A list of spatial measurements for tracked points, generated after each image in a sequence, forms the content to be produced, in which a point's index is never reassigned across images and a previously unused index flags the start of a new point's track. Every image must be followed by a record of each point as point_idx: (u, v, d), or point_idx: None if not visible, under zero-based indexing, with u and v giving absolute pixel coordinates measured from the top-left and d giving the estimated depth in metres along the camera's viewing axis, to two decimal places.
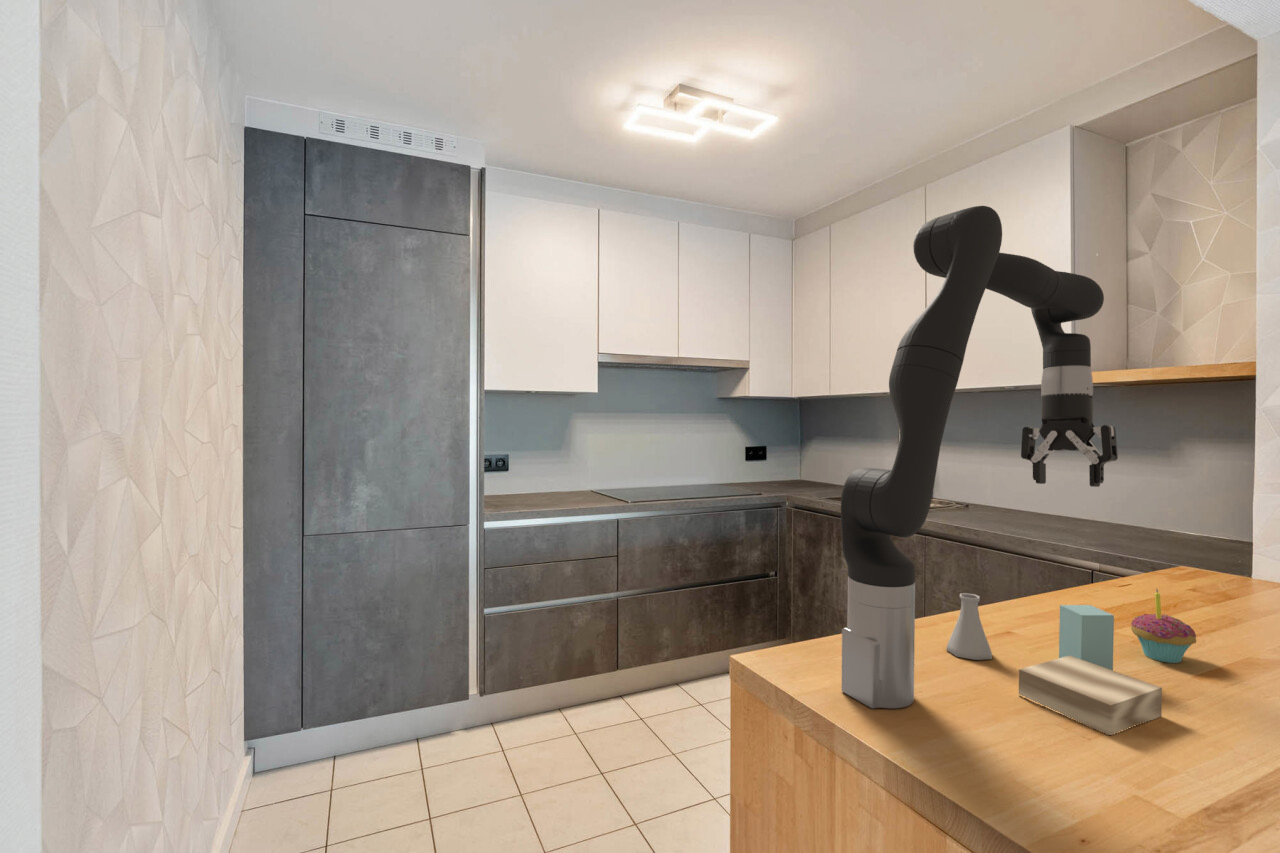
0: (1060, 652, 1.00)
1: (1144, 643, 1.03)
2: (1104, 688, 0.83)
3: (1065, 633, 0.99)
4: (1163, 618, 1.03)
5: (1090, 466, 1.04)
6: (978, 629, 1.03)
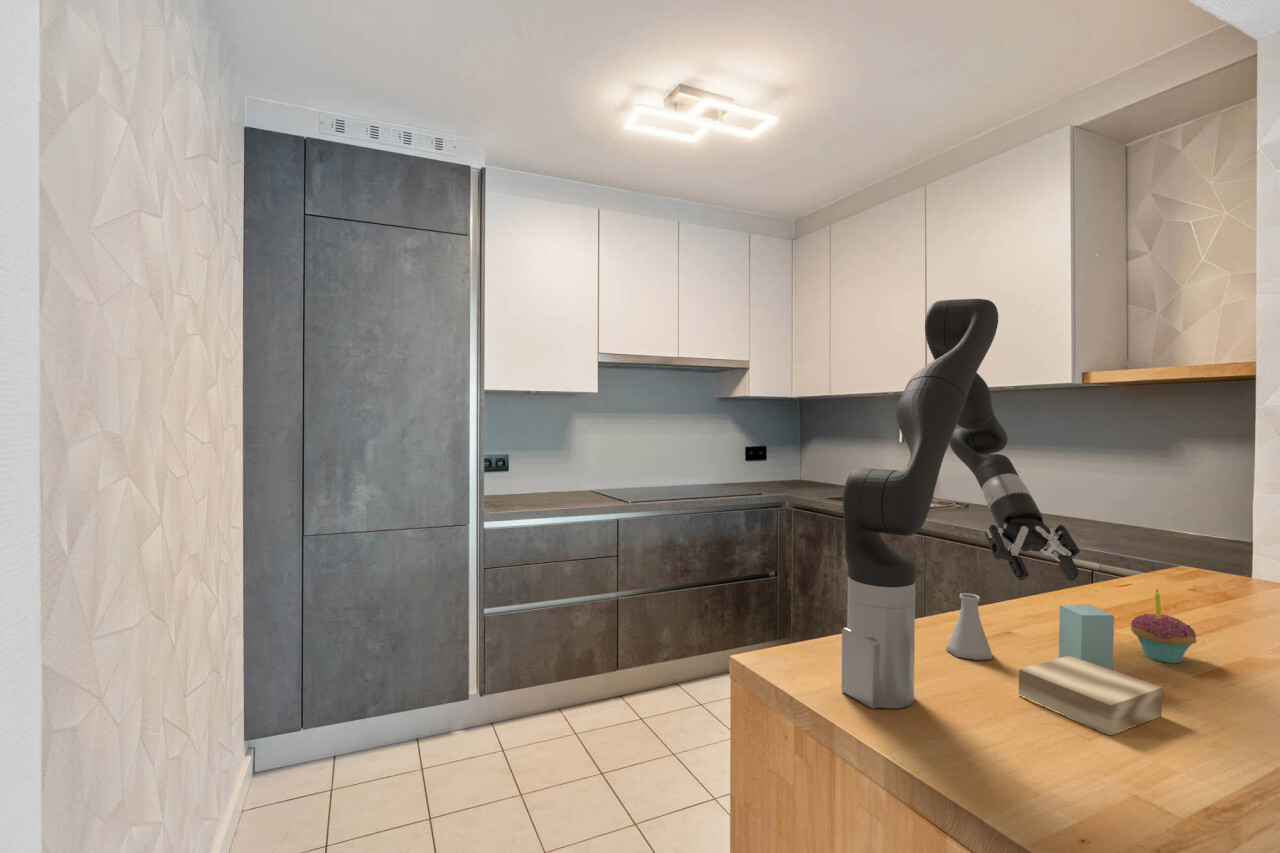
0: (1060, 652, 1.00)
1: (1144, 643, 1.03)
2: (1104, 688, 0.83)
3: (1065, 633, 0.99)
4: (1163, 618, 1.03)
5: (1066, 558, 1.08)
6: (978, 629, 1.03)
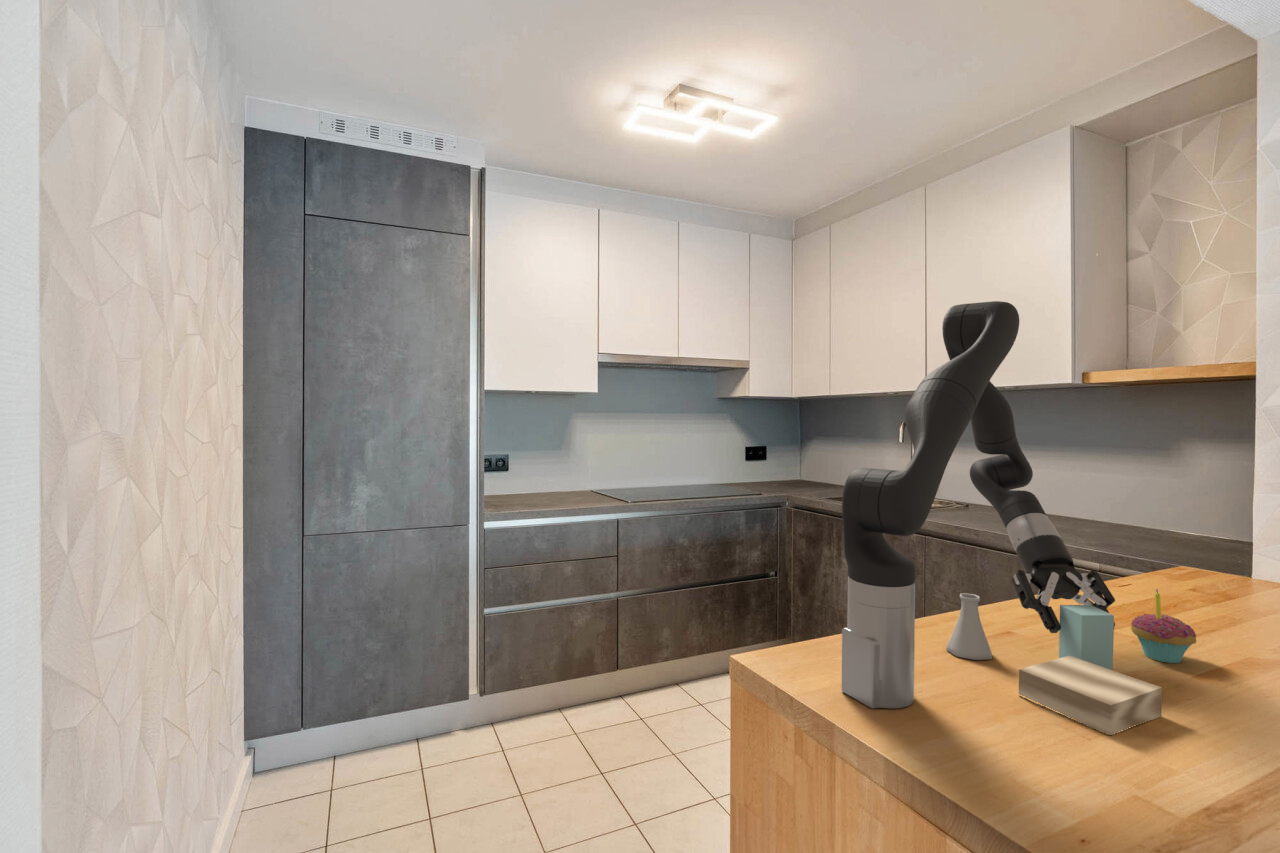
0: (1060, 652, 1.00)
1: (1144, 643, 1.03)
2: (1104, 688, 0.83)
3: (1065, 633, 0.99)
4: (1163, 618, 1.03)
5: (1101, 608, 1.00)
6: (978, 629, 1.03)
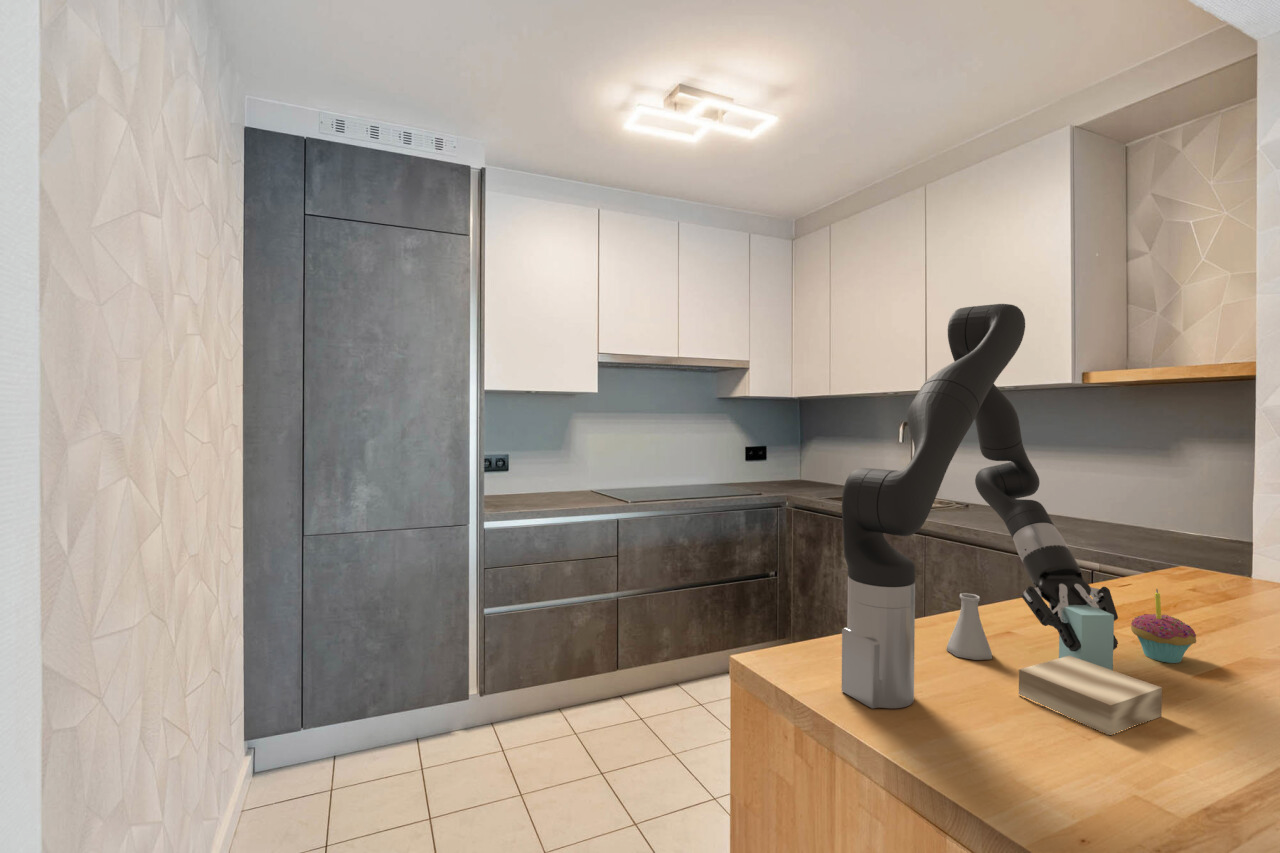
0: (1060, 652, 1.00)
1: (1144, 643, 1.03)
2: (1104, 688, 0.83)
3: None
4: (1163, 618, 1.03)
5: None
6: (978, 629, 1.03)
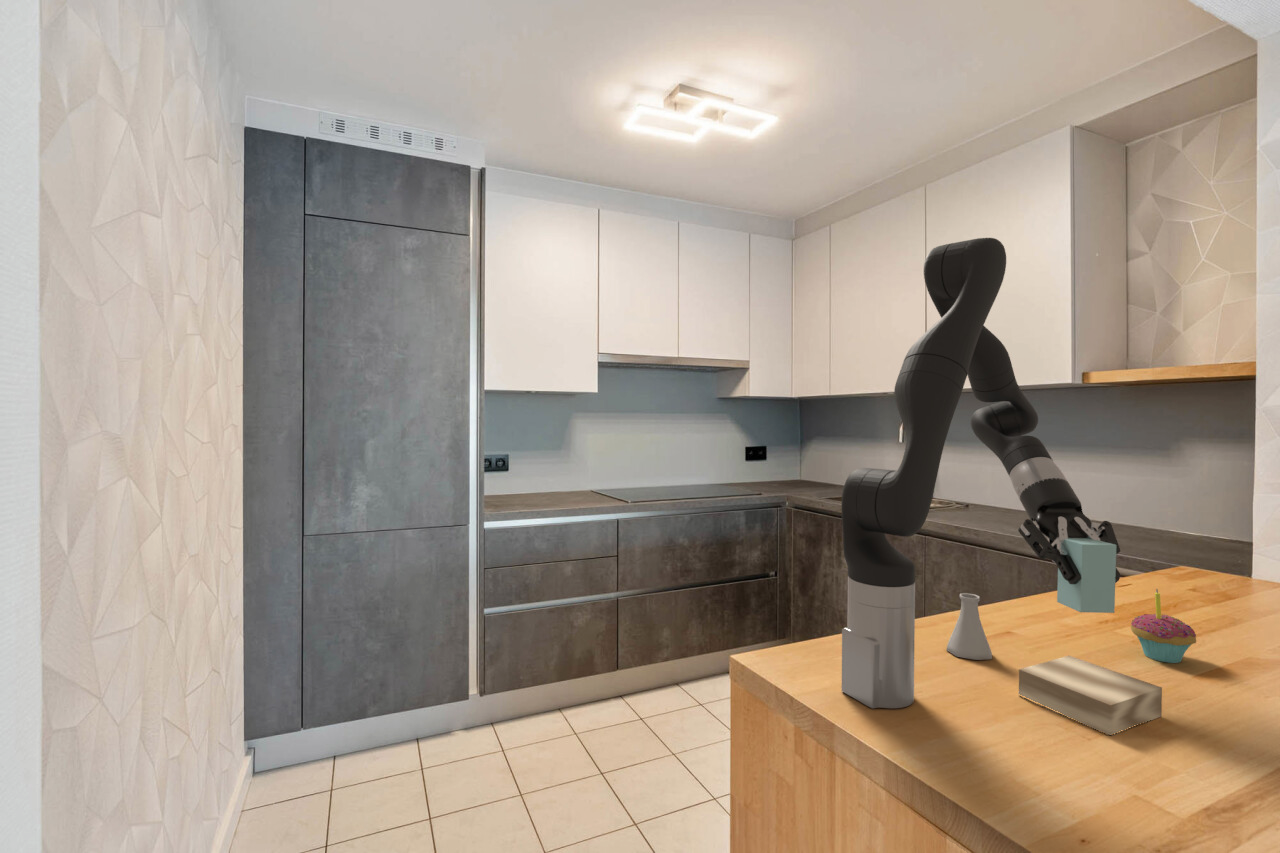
0: (1058, 587, 0.94)
1: (1144, 643, 1.03)
2: (1104, 688, 0.83)
3: None
4: (1163, 618, 1.03)
5: None
6: (978, 629, 1.03)
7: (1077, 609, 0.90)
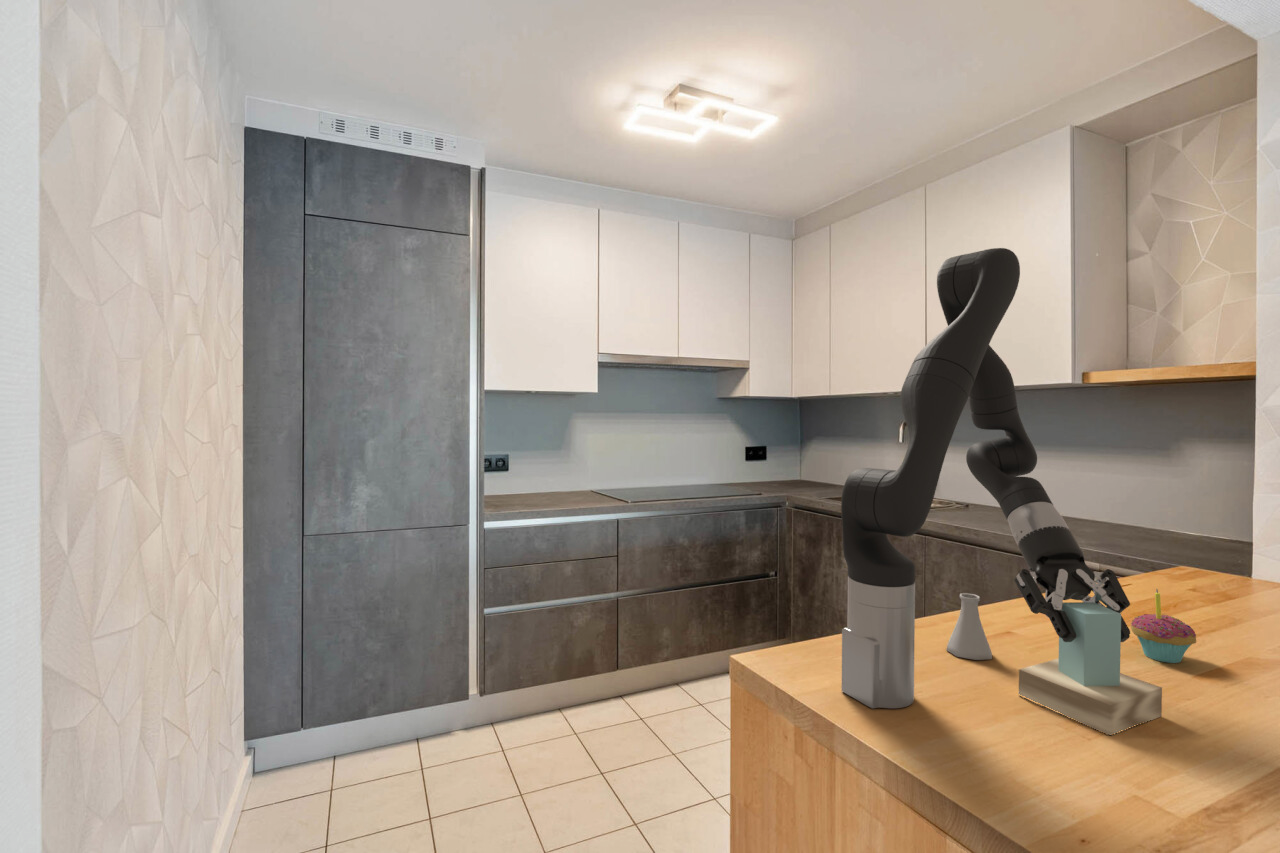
0: (1060, 656, 0.88)
1: (1144, 643, 1.03)
2: (1104, 688, 0.83)
3: None
4: (1163, 618, 1.03)
5: None
6: (978, 629, 1.03)
7: (1080, 682, 0.85)
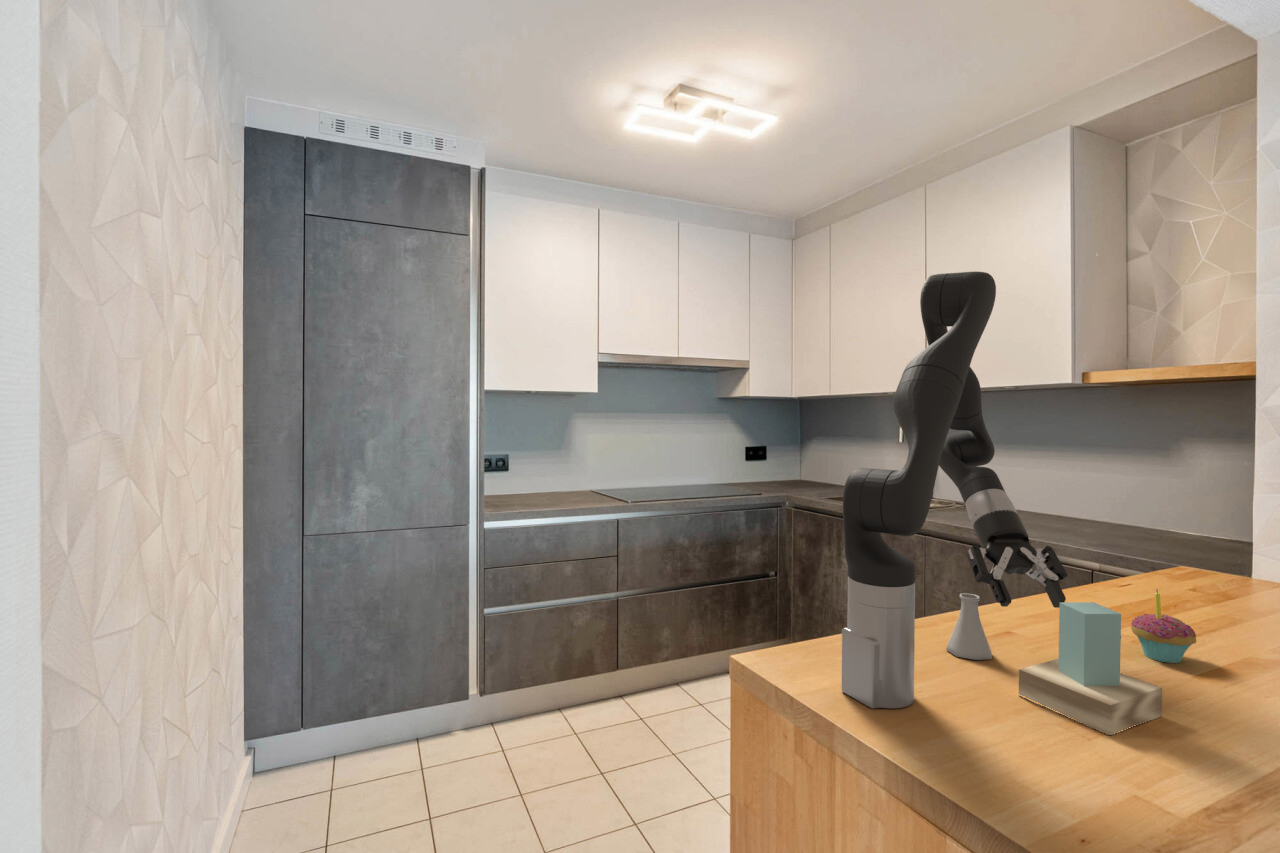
0: (1060, 656, 0.88)
1: (1144, 643, 1.03)
2: (1104, 688, 0.83)
3: (1065, 635, 0.87)
4: (1163, 618, 1.03)
5: (1052, 583, 1.00)
6: (978, 629, 1.03)
7: (1080, 682, 0.85)
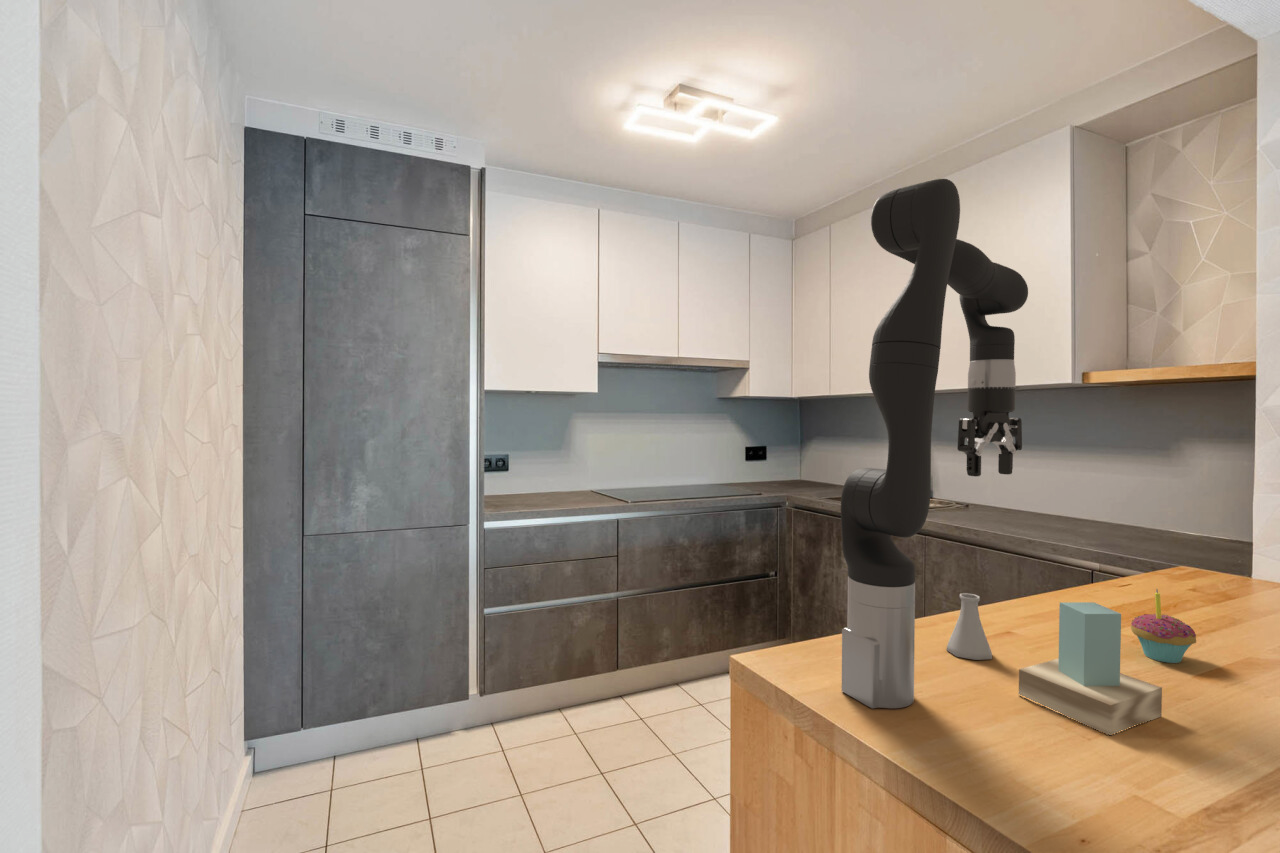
0: (1060, 656, 0.88)
1: (1144, 643, 1.03)
2: (1104, 688, 0.83)
3: (1065, 635, 0.87)
4: (1163, 618, 1.03)
5: (1010, 456, 1.12)
6: (978, 629, 1.03)
7: (1080, 682, 0.85)
